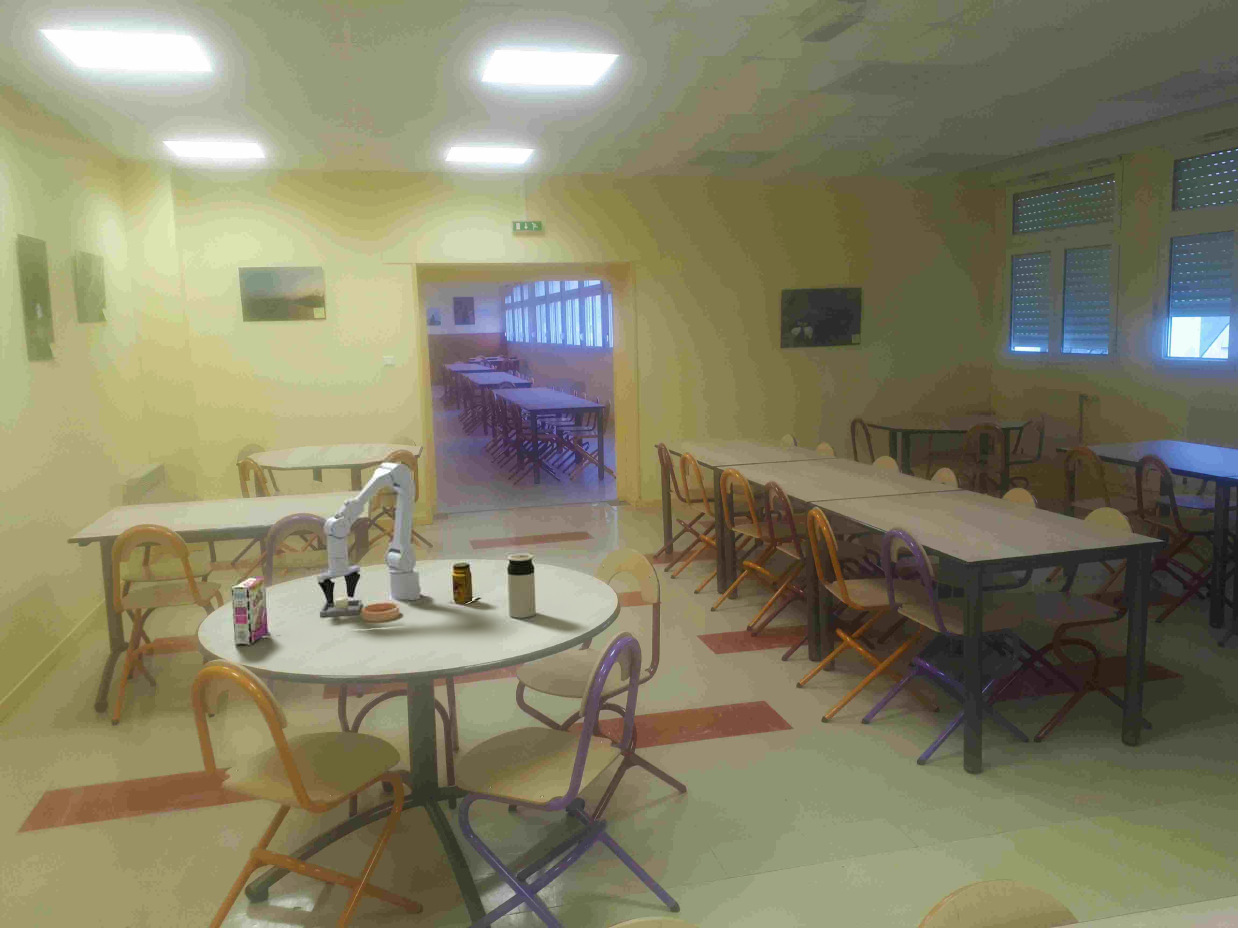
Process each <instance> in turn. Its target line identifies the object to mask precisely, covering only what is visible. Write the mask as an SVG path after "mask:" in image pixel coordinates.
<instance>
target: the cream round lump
mask: <svg viewBox="0 0 1238 928" xmlns="http://www.w3.org/2000/svg"><path fill="white" fill-rule="evenodd" d="M348 598H349V597H348V596H347V597H346V596H343V597H341V596H339V597H335V598H334V600H333V602H334V608H335V611H338V610H348V601H349V599H348Z"/></svg>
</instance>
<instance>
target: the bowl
mask: <svg viewBox="0 0 1238 928" xmlns="http://www.w3.org/2000/svg"><path fill="white" fill-rule="evenodd" d="M360 612H361V619H362V620H365V621H369V622H383V621H384V622H385V621H389V620H393V619H395V618H397V617H399V616H400V614H401V613H400V612H401V611H400V604H398V603H395V602H375V603H371V604H367V605H365V606H363V607H362V608H361V609H360Z"/></svg>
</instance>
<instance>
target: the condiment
mask: <svg viewBox="0 0 1238 928" xmlns="http://www.w3.org/2000/svg"><path fill="white" fill-rule="evenodd" d="M452 568H453V569H452V574H451V575H452V576H451V578H452V593H453V594H452V598H453V600H454V602H452V603H451V602H450V601H449V602H448V603H449V604H454V605H455V604H456V603H468V602H470V601H472V598H473V597H474V596H473V579H472V577H473V576H472V572H471V565H470V564H469V563H467V562H458V563H455V564H453V566H452ZM456 605H457V604H456Z"/></svg>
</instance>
